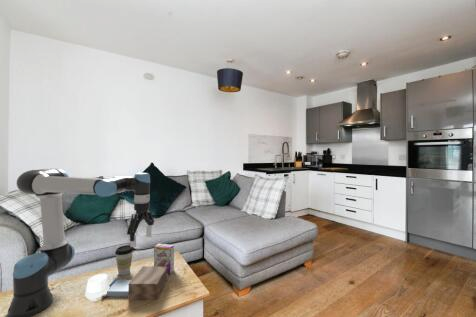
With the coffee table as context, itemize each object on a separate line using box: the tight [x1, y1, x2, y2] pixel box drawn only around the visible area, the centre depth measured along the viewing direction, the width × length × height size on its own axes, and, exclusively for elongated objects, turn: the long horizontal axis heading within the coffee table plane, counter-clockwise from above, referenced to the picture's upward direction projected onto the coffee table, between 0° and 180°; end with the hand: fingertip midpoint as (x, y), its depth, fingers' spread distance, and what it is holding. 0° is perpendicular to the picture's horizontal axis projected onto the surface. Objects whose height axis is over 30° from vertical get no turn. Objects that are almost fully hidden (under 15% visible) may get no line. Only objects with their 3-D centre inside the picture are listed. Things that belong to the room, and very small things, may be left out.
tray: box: [105, 277, 132, 297], centre depth 114 cm, size 14×10×4 cm
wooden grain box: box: [128, 265, 168, 301], centre depth 114 cm, size 14×16×8 cm
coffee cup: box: [114, 244, 134, 276], centre depth 130 cm, size 10×10×15 cm
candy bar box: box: [153, 243, 175, 275], centre depth 132 cm, size 11×5×16 cm, turn 80°
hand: (141, 241), depth 114 cm, fingers open, 13 cm apart
